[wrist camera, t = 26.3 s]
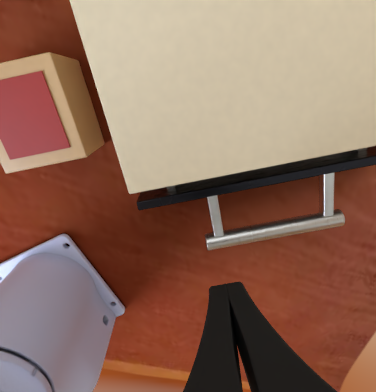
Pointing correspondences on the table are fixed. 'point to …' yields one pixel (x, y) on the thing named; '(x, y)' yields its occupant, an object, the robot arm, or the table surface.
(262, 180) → the drawer
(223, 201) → the table surface
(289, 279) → the table surface
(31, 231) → the table surface
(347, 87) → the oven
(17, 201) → the table surface
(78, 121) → the block
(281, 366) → the robot arm
